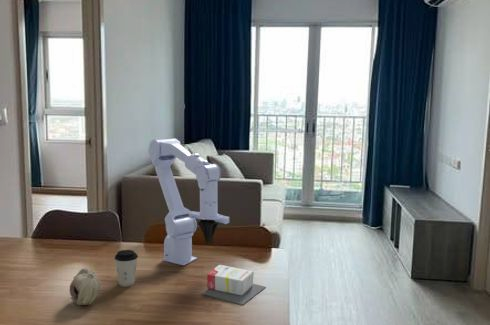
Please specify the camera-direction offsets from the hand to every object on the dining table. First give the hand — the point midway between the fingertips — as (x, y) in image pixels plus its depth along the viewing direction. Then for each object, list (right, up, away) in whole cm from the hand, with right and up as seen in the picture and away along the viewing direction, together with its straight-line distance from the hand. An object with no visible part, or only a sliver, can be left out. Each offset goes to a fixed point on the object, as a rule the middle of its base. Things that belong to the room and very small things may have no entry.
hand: (208, 242), depth 150 cm
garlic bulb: (-33, -13, -22) cm, 42 cm away
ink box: (+2, -9, -9) cm, 13 cm away
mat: (+9, -13, -12) cm, 20 cm away
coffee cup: (-25, -12, -9) cm, 29 cm away
